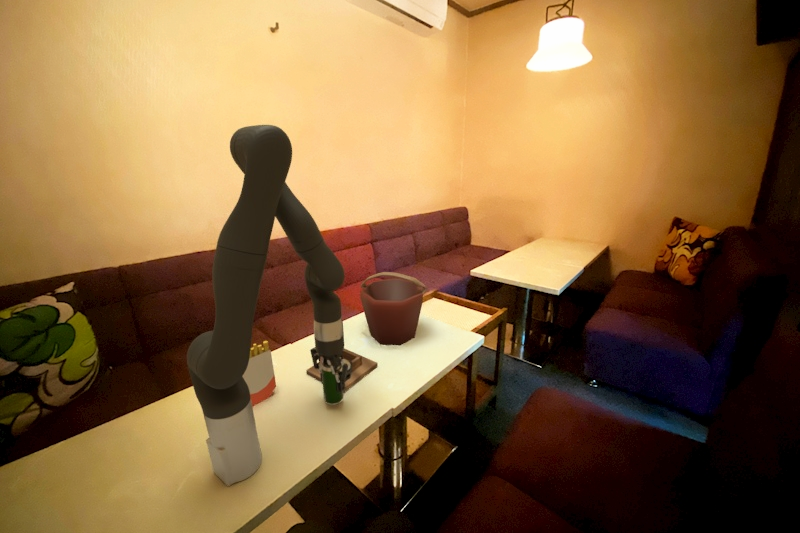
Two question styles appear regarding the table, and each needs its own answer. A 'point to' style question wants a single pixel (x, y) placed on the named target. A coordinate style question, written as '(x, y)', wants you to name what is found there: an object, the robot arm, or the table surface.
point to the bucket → (392, 307)
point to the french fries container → (260, 373)
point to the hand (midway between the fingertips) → (333, 386)
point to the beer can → (330, 385)
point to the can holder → (359, 368)
